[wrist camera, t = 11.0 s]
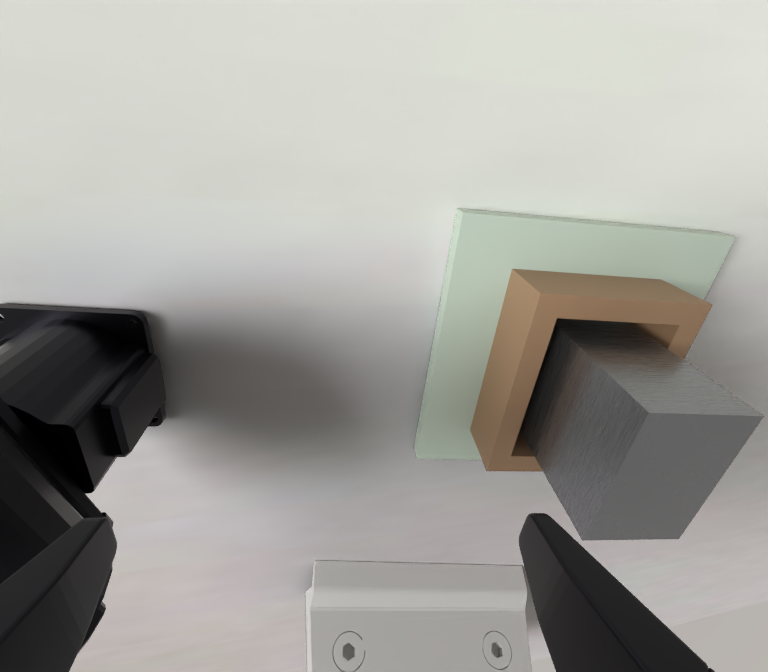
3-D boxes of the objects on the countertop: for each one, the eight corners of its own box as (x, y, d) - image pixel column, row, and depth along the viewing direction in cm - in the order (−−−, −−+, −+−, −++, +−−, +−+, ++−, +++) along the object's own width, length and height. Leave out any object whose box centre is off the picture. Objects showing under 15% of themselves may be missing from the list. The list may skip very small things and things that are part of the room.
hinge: (526, 565, 31) (569, 750, 24) (501, 579, 34) (533, 744, 28) (309, 560, 28) (290, 766, 22) (306, 575, 32) (288, 757, 25)
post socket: (413, 446, 24) (425, 502, 20) (456, 208, 18) (485, 229, 14) (611, 449, 26) (654, 501, 22) (717, 231, 19) (802, 256, 16)
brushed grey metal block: (505, 406, 22) (582, 540, 15) (536, 305, 19) (648, 412, 12) (573, 408, 22) (678, 538, 15) (612, 310, 20) (763, 416, 13)
